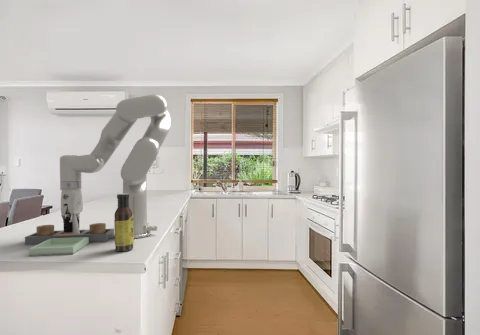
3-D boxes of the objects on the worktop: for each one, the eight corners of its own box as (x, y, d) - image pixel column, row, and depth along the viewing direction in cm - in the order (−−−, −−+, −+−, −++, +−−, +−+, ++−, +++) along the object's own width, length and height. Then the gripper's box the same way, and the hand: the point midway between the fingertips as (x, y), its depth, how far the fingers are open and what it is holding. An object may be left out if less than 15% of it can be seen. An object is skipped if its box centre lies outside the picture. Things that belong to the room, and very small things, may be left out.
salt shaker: (72, 242, 121) (72, 209, 121) (60, 241, 122) (59, 208, 122) (83, 238, 127) (82, 207, 126) (71, 238, 128) (70, 206, 127)
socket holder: (114, 235, 131) (114, 227, 131) (106, 241, 121) (106, 233, 121) (39, 238, 128) (38, 230, 127) (24, 244, 118) (24, 236, 117)
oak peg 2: (107, 237, 129) (107, 222, 129) (103, 240, 123) (102, 225, 123) (92, 237, 128) (92, 223, 128) (87, 241, 122) (87, 226, 122)
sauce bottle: (136, 250, 108) (135, 193, 108) (117, 253, 105) (116, 195, 104) (130, 246, 114) (129, 192, 113) (113, 249, 110) (112, 193, 110)
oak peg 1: (57, 239, 126) (56, 224, 126) (49, 242, 120) (49, 227, 120) (41, 239, 126) (41, 225, 126) (33, 243, 120) (33, 228, 120)
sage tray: (88, 243, 118) (88, 237, 118) (73, 254, 104) (73, 246, 104) (50, 245, 117) (50, 238, 117) (29, 256, 103) (29, 248, 103)
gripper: (71, 187, 116) (72, 235, 116) (88, 184, 133) (89, 225, 133) (50, 187, 115) (51, 235, 115) (70, 184, 132) (71, 226, 132)
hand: (71, 230), depth 124 cm, fingers open, 5 cm apart
